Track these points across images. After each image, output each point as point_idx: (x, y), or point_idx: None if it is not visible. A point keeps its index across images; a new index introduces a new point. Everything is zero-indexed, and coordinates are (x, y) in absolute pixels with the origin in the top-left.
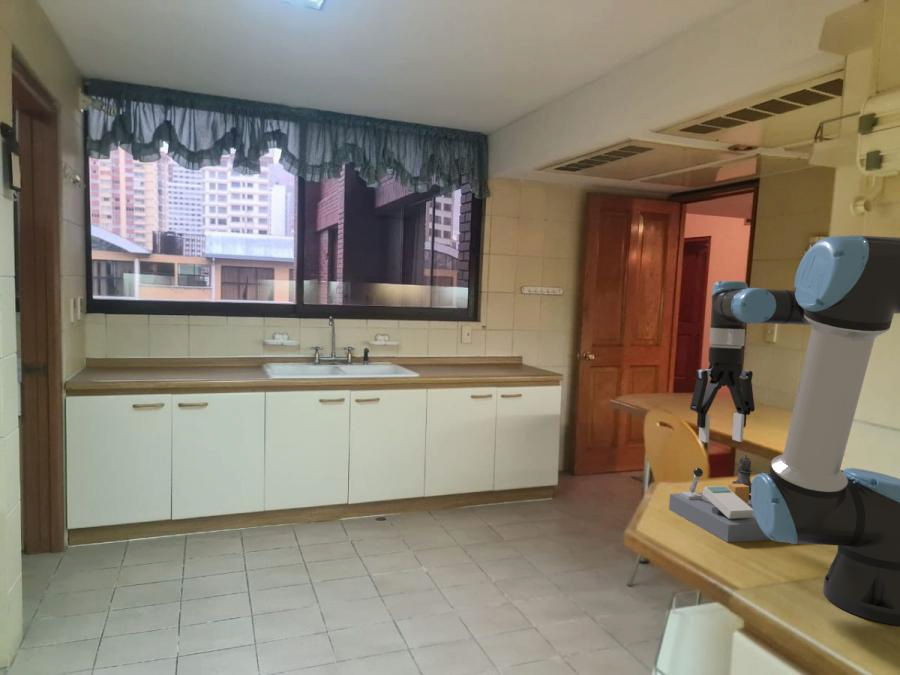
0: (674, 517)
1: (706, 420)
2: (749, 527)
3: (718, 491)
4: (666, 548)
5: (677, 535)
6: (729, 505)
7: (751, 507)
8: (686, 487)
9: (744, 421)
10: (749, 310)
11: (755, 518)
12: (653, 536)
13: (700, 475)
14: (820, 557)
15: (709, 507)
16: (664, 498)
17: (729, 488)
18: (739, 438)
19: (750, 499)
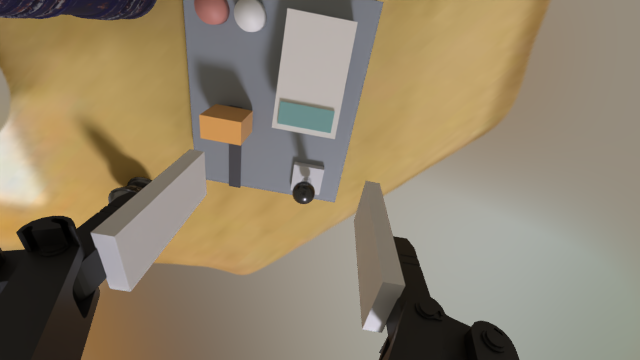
0: (360, 153)
1: (394, 260)
2: None
3: (316, 108)
4: (531, 25)
5: (440, 77)
6: (339, 46)
7: (224, 85)
8: (218, 250)
9: (111, 212)
10: None
11: (275, 17)
12: (490, 89)
13: (305, 181)
14: None
15: None
16: (298, 225)
17: (243, 138)
18: (197, 162)
19: (140, 177)
